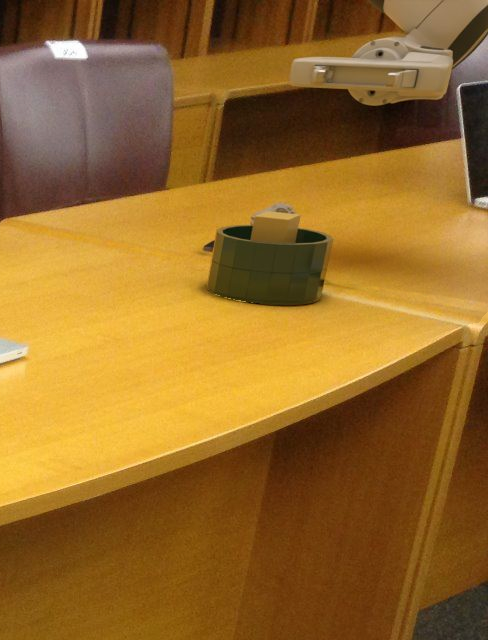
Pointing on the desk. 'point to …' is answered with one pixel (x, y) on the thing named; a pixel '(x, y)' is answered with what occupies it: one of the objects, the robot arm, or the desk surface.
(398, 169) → the desk surface
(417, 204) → the desk surface
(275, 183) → the desk surface
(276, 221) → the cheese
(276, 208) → the frog figurine
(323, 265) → the pot
